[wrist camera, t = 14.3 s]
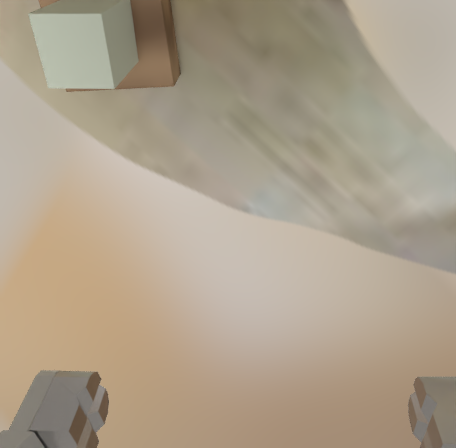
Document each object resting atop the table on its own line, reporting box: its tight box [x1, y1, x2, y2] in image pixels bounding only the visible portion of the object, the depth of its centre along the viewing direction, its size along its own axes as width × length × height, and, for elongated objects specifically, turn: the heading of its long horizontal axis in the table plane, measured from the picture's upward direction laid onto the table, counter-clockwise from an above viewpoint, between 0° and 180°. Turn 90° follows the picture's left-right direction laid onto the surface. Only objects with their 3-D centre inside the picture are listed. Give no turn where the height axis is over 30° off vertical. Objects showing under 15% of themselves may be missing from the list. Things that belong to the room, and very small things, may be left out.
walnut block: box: [39, 0, 181, 92], centre depth 37 cm, size 10×10×4 cm
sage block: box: [28, 0, 139, 89], centre depth 32 cm, size 5×5×7 cm
